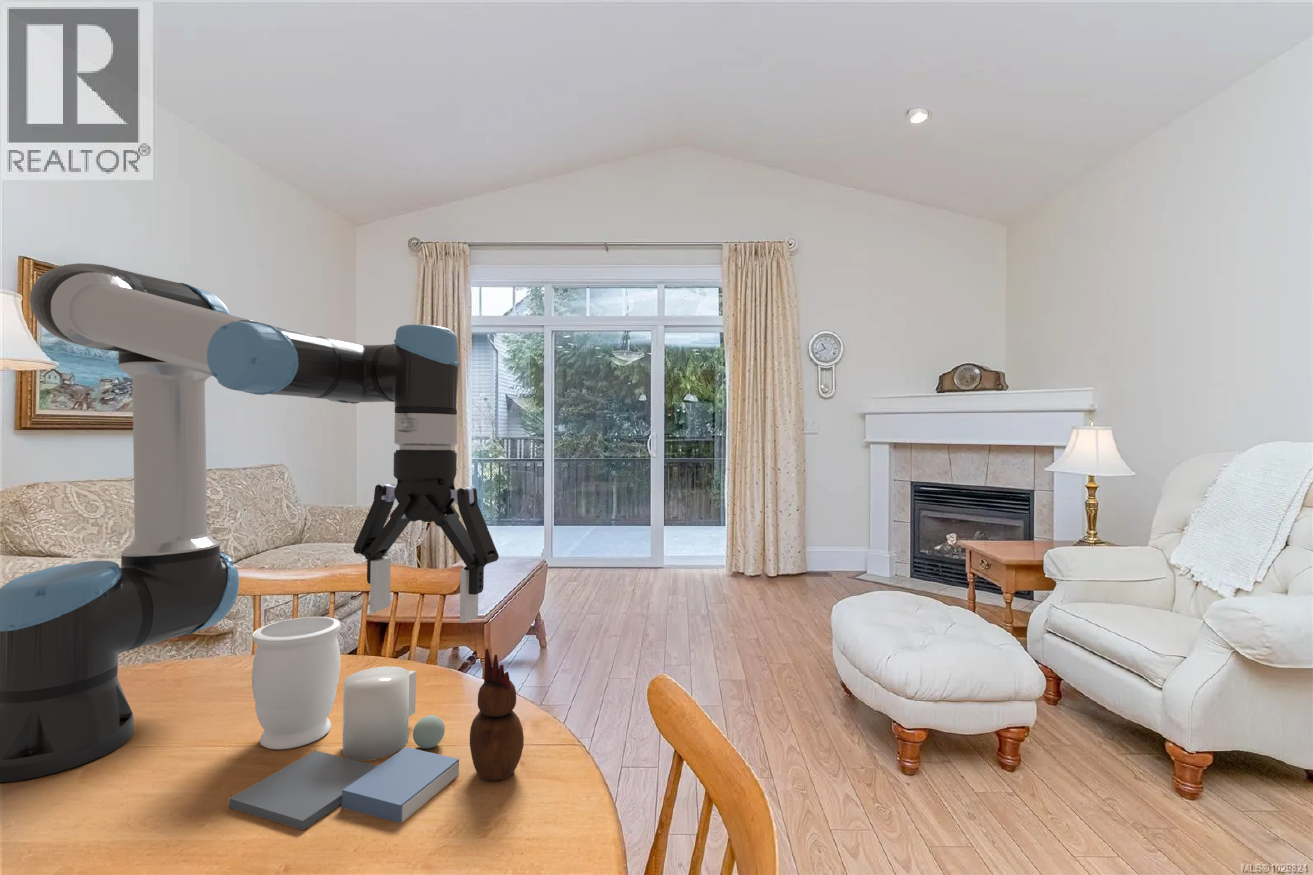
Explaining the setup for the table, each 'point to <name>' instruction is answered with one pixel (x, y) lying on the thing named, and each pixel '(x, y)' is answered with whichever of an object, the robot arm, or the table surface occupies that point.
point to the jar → (295, 679)
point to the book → (400, 784)
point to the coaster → (301, 790)
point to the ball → (428, 731)
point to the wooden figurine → (496, 725)
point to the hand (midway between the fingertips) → (423, 614)
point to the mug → (377, 711)
